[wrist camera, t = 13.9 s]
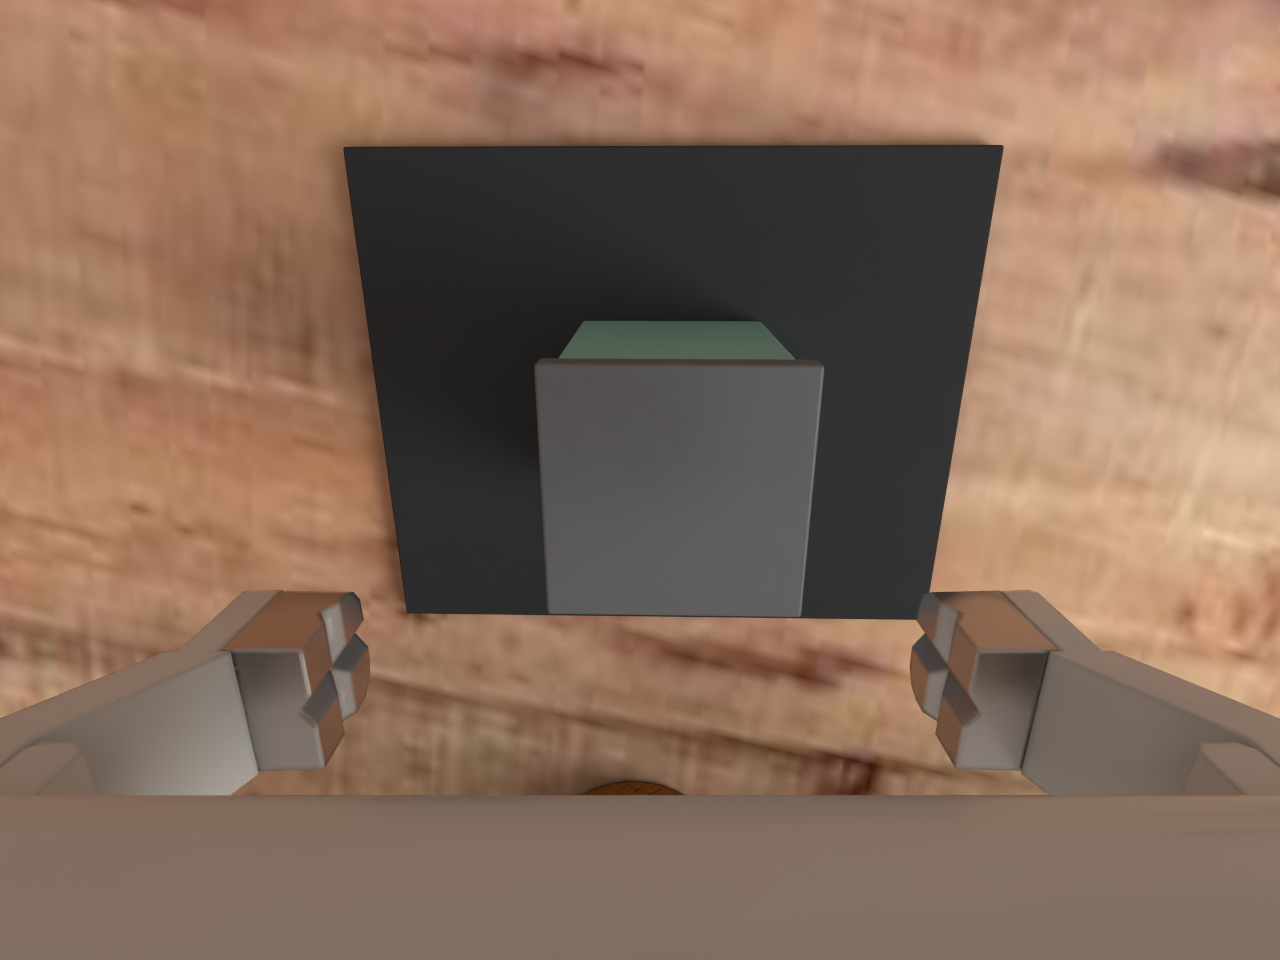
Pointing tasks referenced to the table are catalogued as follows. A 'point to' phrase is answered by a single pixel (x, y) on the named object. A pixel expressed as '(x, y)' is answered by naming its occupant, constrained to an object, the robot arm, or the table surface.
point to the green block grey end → (676, 469)
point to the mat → (668, 291)
